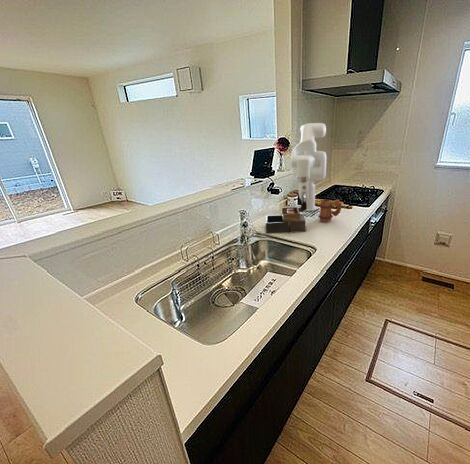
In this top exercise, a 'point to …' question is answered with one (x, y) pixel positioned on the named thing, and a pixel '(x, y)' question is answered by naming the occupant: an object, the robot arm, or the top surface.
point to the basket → (276, 224)
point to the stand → (297, 225)
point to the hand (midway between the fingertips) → (302, 207)
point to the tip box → (291, 216)
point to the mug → (329, 209)
